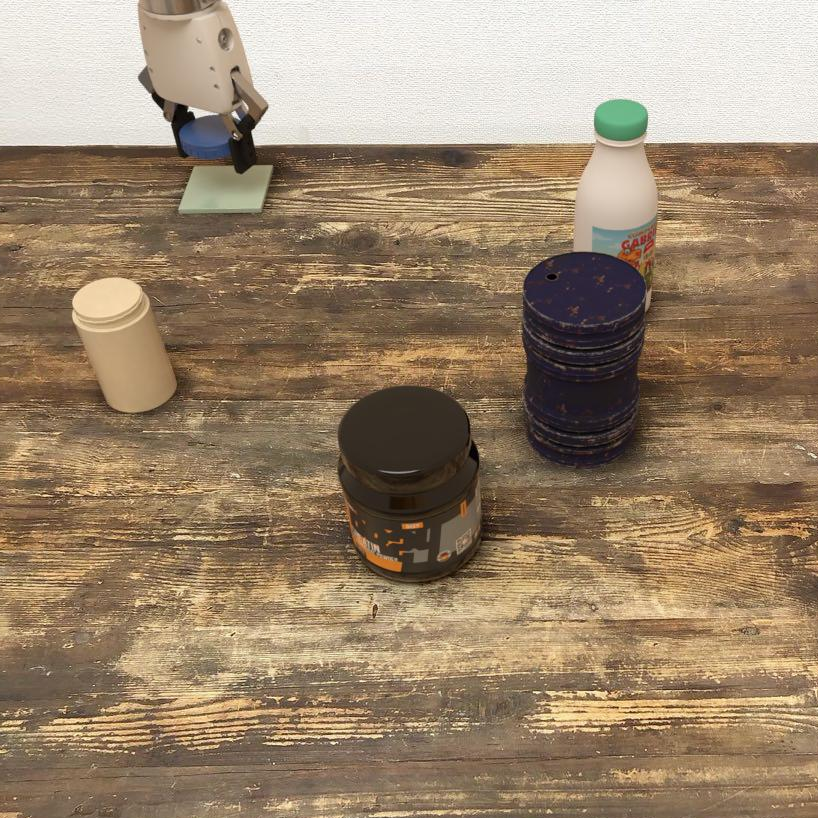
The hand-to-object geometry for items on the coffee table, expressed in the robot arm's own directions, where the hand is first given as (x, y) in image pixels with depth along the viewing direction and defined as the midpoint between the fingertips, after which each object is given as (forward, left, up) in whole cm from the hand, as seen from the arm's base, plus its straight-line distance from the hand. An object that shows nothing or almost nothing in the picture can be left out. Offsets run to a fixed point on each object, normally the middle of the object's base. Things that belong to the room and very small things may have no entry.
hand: (218, 158), depth 117 cm
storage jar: (+10, -54, -4) cm, 55 cm away
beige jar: (-20, -27, -4) cm, 34 cm away
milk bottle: (+23, -41, -4) cm, 47 cm away
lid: (0, 0, +3) cm, 3 cm away
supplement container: (-8, -57, -4) cm, 58 cm away
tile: (0, 0, -4) cm, 4 cm away
